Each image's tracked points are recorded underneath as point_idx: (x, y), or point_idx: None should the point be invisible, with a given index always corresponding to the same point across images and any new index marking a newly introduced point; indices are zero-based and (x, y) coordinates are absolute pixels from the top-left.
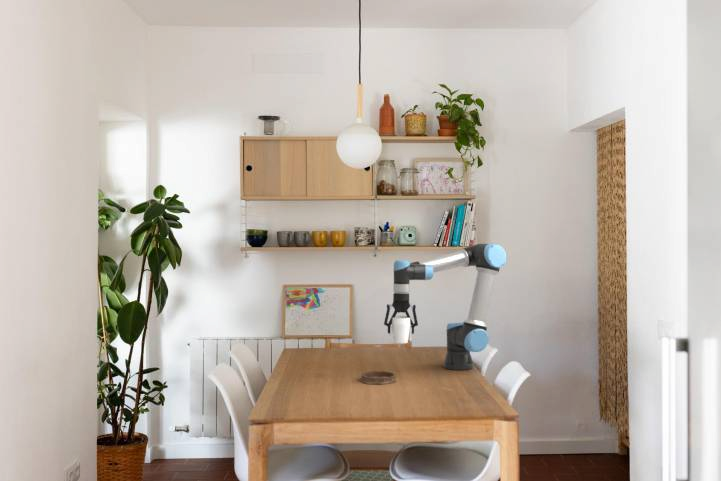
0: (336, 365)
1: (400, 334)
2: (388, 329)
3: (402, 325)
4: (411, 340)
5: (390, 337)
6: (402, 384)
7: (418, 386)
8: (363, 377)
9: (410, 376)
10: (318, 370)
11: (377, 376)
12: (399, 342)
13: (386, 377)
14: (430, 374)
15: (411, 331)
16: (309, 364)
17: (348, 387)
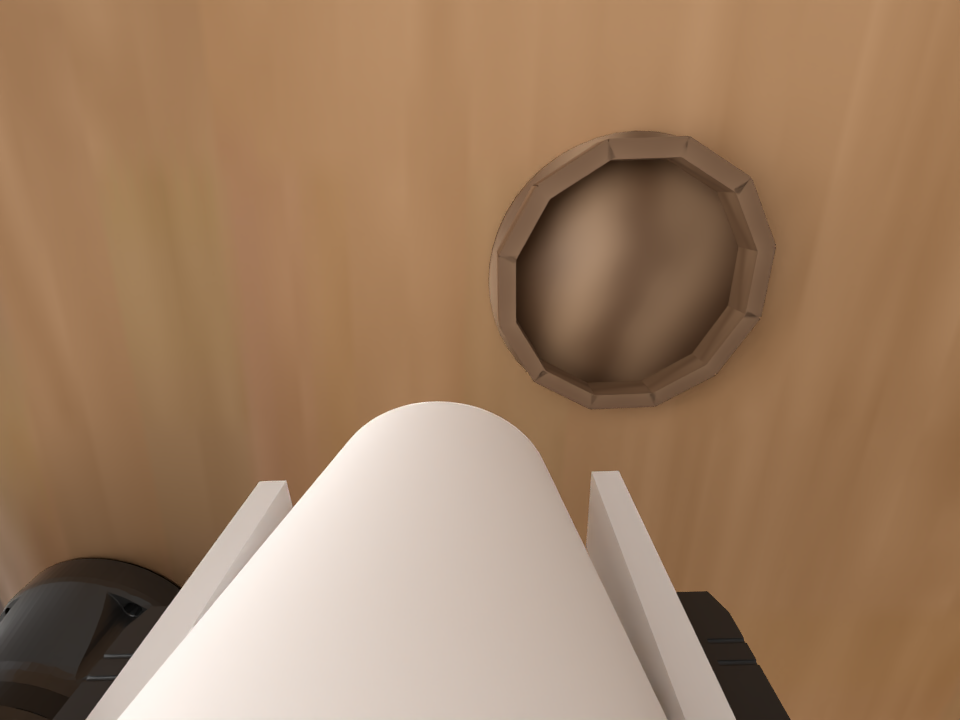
0: (799, 656)
1: (434, 477)
2: (753, 686)
3: (292, 717)
4: (254, 488)
5: (632, 511)
6: (449, 140)
7: (317, 55)
8: (761, 219)
9: (392, 404)
10: (934, 554)
11: (621, 358)
12: (463, 407)
13: (582, 172)
14: (263, 458)
15: (150, 635)
16: (934, 673)
17: (896, 25)
